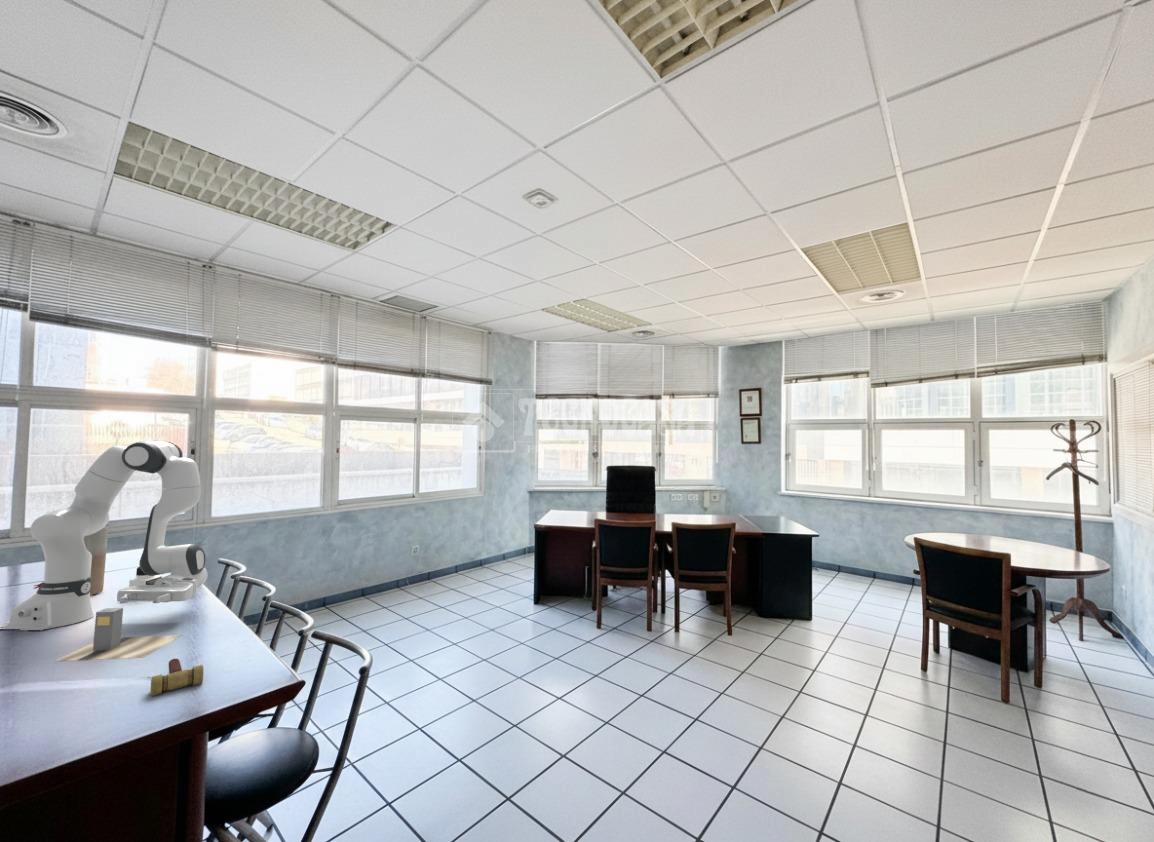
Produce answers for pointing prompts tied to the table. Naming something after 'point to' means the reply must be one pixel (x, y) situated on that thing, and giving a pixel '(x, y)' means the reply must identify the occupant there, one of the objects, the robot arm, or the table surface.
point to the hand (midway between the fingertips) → (138, 600)
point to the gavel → (176, 678)
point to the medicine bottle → (143, 579)
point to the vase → (97, 558)
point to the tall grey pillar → (108, 629)
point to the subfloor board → (122, 649)
